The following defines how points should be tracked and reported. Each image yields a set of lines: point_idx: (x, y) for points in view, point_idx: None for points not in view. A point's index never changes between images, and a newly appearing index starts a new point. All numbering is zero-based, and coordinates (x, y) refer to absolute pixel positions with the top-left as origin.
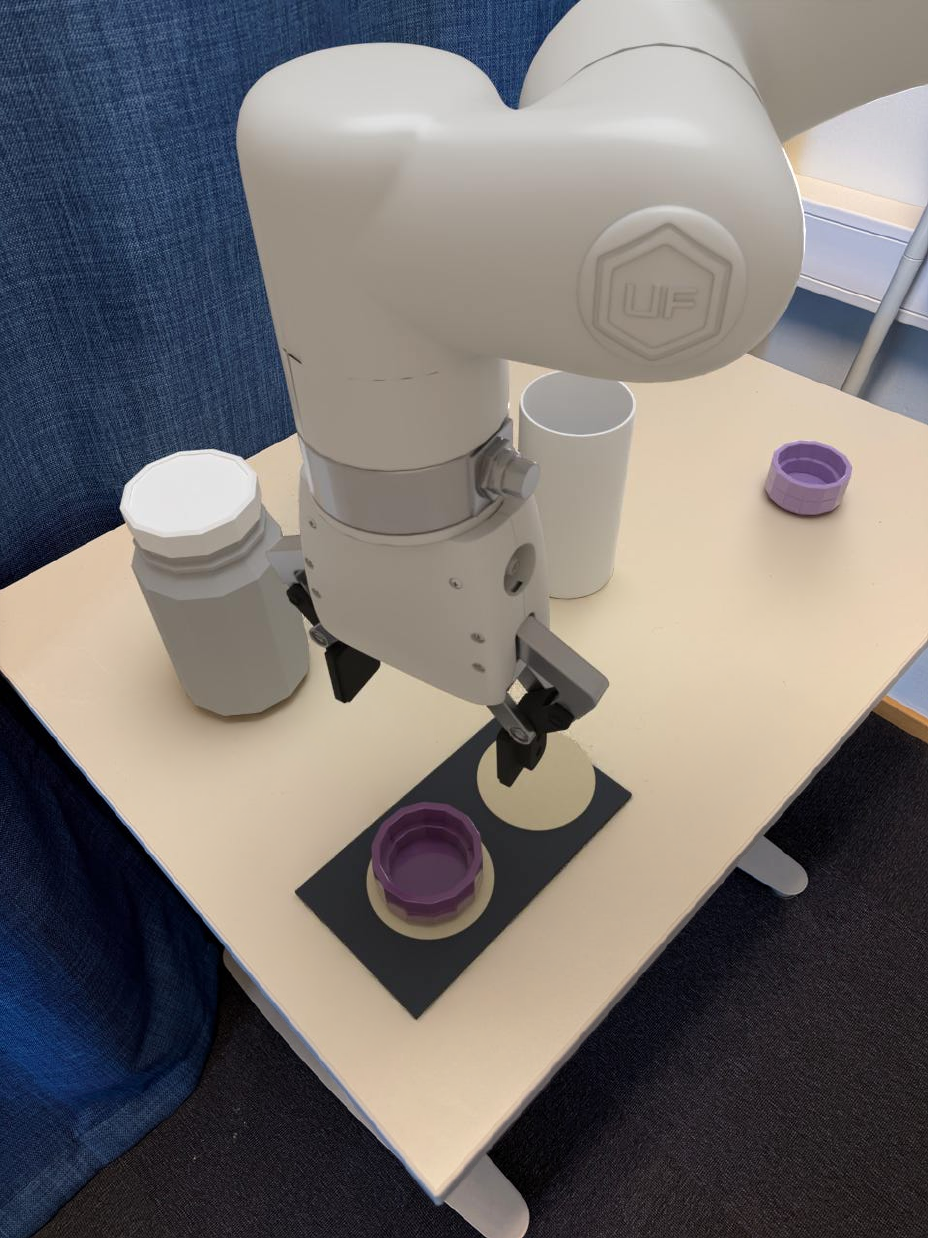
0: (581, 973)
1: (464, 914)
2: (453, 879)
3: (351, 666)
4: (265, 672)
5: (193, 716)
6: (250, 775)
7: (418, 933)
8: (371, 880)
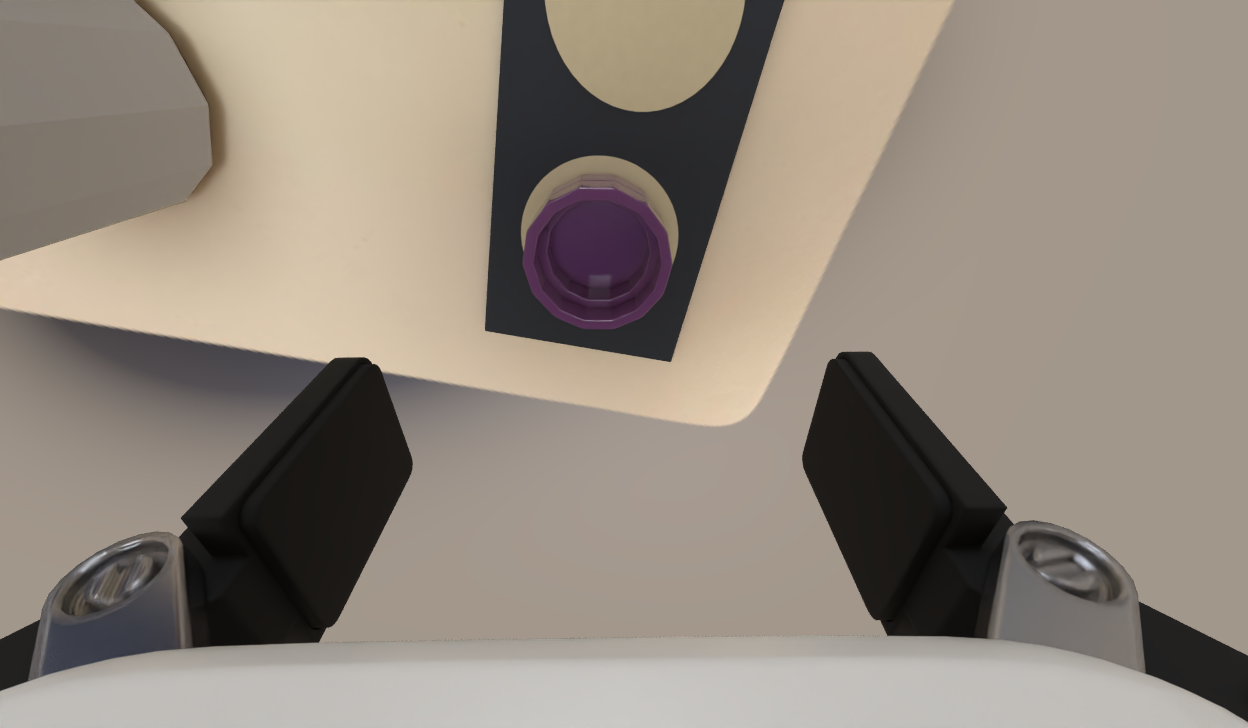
0: (804, 238)
1: None
2: (629, 236)
3: (356, 525)
4: (138, 148)
5: None
6: (310, 241)
7: None
8: None
